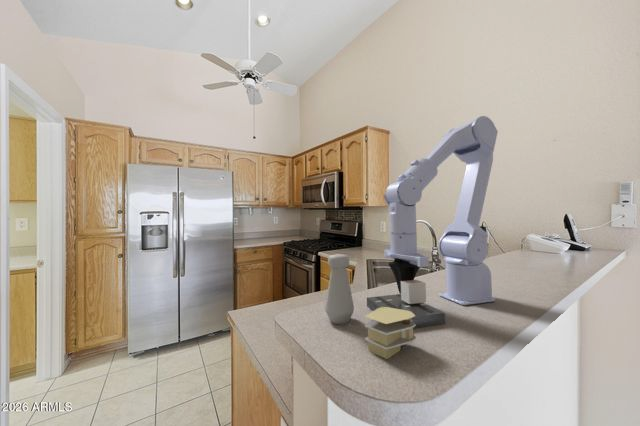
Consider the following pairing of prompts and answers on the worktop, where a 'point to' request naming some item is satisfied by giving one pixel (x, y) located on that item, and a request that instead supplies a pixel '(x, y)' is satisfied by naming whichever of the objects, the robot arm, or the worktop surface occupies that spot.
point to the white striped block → (413, 291)
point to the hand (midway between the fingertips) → (404, 293)
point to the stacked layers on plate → (389, 330)
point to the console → (409, 309)
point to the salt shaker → (339, 291)
